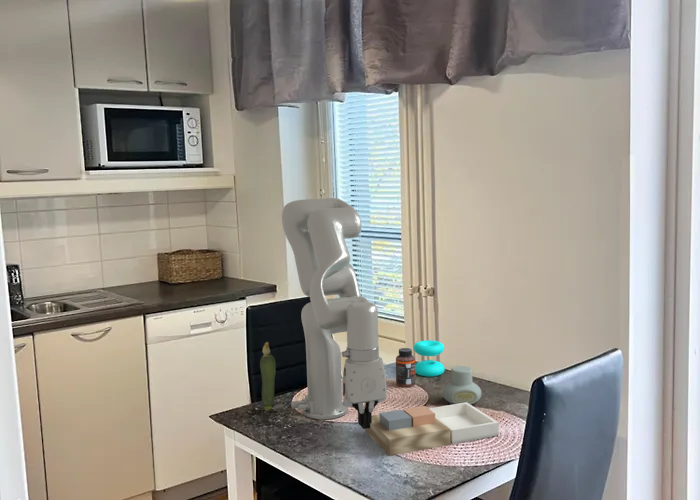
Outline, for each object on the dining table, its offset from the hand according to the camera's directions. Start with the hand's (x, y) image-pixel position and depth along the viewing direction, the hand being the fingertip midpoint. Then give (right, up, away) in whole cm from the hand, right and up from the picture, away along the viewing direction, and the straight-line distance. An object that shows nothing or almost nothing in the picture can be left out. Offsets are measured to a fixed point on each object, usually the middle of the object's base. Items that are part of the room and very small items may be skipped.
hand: (365, 426), depth 170 cm
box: (+25, -3, +9) cm, 27 cm away
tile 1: (+8, 0, +3) cm, 8 cm away
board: (+11, -4, +4) cm, 12 cm away
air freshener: (+28, -1, +29) cm, 40 cm away
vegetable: (-26, -2, +27) cm, 38 cm away
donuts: (+22, +3, +57) cm, 61 cm away
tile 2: (+14, 0, +5) cm, 15 cm away
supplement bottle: (+14, +1, +46) cm, 47 cm away
